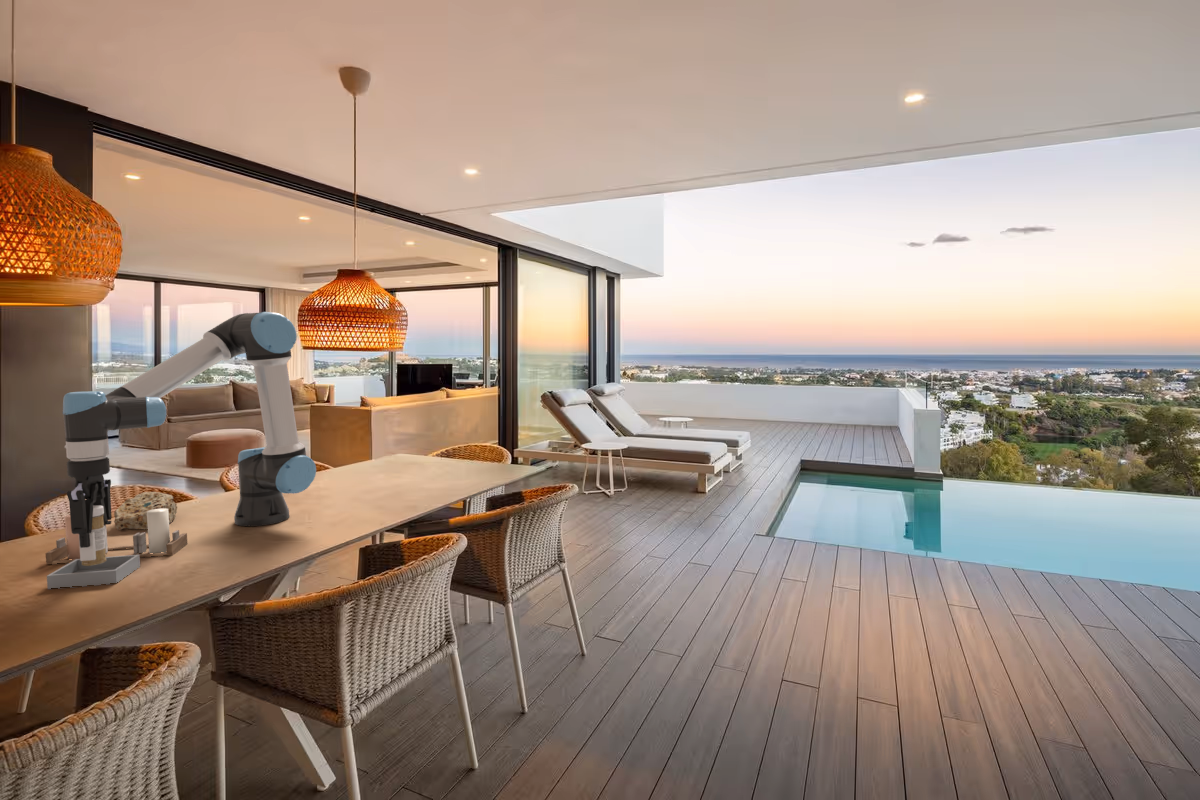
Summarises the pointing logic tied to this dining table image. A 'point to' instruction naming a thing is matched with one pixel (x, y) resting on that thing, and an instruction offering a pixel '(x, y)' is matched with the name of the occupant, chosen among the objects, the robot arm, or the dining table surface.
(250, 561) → the dining table surface
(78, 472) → the robot arm
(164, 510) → the cream jar
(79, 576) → the tray
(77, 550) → the pink cylinder
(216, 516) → the dining table surface
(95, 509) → the sprinkles bottle
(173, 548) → the rack
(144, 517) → the rock
